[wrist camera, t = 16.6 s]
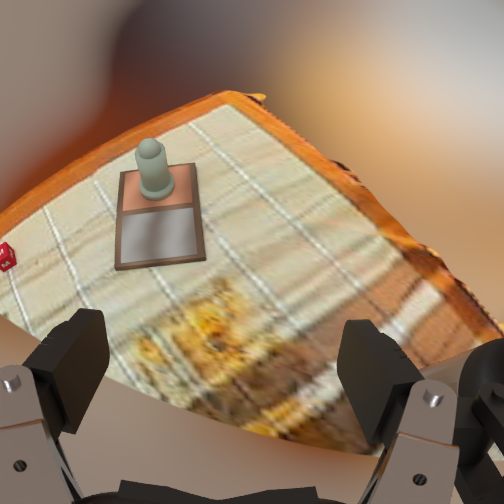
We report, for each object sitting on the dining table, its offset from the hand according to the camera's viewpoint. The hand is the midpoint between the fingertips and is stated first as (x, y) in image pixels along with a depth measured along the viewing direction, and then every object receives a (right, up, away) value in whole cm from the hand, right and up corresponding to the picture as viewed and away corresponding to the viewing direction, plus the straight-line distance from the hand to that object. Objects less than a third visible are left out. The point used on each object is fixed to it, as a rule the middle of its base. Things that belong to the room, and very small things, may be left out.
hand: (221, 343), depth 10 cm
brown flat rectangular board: (-13, +9, +38) cm, 42 cm away
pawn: (-14, +13, +40) cm, 44 cm away
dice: (-39, +1, +32) cm, 51 cm away
